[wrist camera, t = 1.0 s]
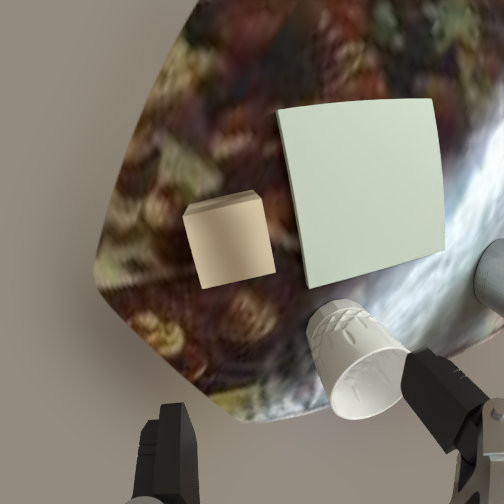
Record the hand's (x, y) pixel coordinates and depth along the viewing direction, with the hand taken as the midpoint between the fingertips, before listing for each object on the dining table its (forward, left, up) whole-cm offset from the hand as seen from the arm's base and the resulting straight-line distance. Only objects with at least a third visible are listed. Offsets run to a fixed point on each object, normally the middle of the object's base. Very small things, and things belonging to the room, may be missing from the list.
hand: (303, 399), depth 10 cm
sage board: (-13, -3, -19) cm, 23 cm away
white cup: (-7, +11, -19) cm, 23 cm away
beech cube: (+1, -2, -19) cm, 19 cm away
